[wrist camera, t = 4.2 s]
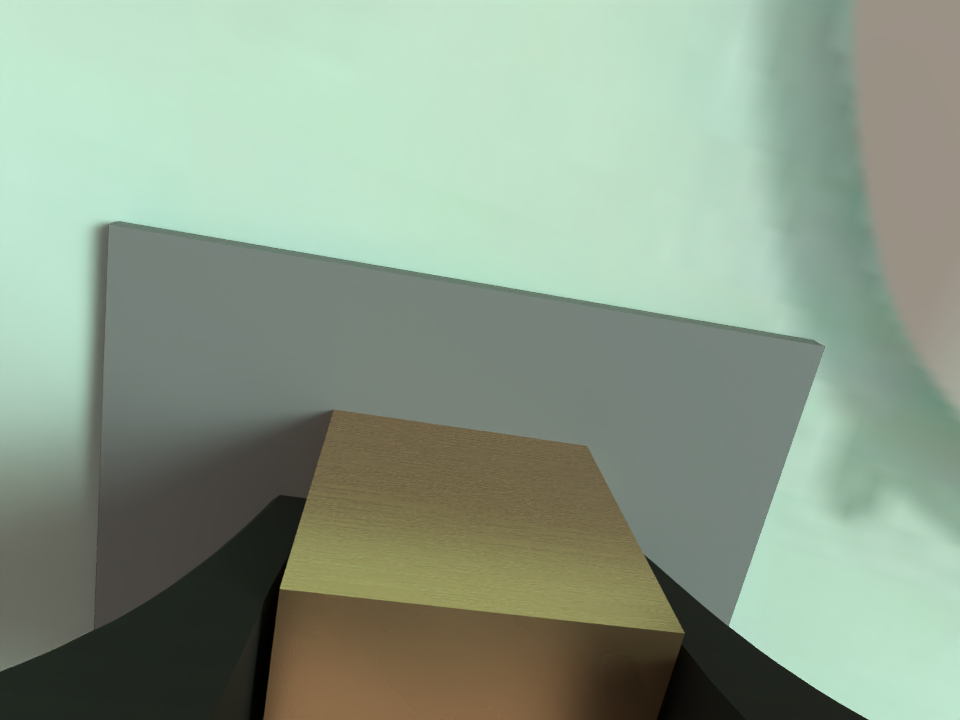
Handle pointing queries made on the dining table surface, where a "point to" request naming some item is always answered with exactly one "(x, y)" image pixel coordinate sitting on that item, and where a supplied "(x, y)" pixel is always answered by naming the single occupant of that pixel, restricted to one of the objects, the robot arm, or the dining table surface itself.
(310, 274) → the mat
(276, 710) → the striped wooden beam
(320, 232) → the dining table surface
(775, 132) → the dining table surface
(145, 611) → the robot arm
